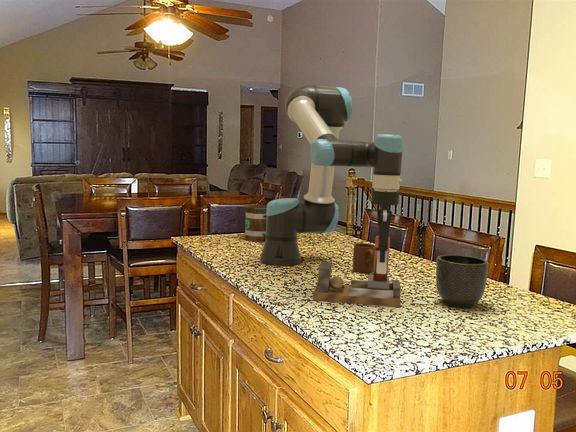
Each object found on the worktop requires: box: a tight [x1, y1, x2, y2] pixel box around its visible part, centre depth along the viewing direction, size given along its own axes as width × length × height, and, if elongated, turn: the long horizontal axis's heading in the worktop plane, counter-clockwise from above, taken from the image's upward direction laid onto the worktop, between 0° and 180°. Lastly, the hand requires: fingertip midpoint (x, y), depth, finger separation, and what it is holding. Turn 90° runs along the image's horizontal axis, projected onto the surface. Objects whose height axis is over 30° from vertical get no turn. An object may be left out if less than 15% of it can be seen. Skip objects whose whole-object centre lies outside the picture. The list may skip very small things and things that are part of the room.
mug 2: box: [352, 242, 375, 275], centre depth 187 cm, size 12×8×9 cm, turn 13°
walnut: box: [330, 275, 345, 289], centre depth 156 cm, size 4×4×4 cm
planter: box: [435, 254, 489, 309], centre depth 152 cm, size 14×14×13 cm
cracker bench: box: [312, 261, 402, 308], centre depth 155 cm, size 24×12×9 cm, turn 81°
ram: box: [367, 235, 391, 291], centre depth 153 cm, size 6×8×16 cm
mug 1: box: [244, 204, 267, 243], centre depth 242 cm, size 20×14×15 cm
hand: (380, 270), depth 153 cm, fingers open, 7 cm apart
